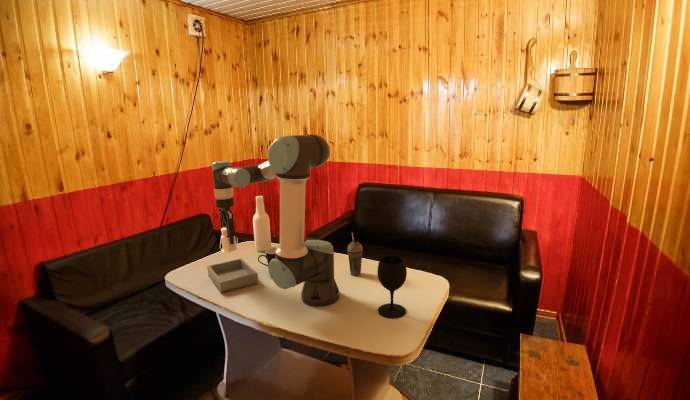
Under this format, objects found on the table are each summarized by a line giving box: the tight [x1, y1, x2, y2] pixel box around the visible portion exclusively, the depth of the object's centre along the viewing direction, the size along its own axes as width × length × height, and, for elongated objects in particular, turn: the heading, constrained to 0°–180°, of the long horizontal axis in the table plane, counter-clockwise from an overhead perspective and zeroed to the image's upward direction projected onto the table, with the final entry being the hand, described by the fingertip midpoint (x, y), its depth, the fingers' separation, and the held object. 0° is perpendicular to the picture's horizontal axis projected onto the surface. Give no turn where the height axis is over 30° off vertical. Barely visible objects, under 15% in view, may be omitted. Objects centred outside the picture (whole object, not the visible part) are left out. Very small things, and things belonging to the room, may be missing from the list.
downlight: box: [219, 227, 239, 253], centre depth 162 cm, size 8×7×10 cm
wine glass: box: [376, 255, 408, 319], centre depth 133 cm, size 10×10×20 cm
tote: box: [206, 257, 259, 295], centre depth 165 cm, size 22×16×5 cm
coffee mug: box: [257, 246, 278, 267], centre depth 174 cm, size 12×9×10 cm
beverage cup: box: [346, 232, 364, 277], centre depth 166 cm, size 7×7×20 cm
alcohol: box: [252, 195, 272, 253], centre depth 201 cm, size 9×9×30 cm
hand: (229, 248), depth 162 cm, fingers closed on downlight, 7 cm apart
